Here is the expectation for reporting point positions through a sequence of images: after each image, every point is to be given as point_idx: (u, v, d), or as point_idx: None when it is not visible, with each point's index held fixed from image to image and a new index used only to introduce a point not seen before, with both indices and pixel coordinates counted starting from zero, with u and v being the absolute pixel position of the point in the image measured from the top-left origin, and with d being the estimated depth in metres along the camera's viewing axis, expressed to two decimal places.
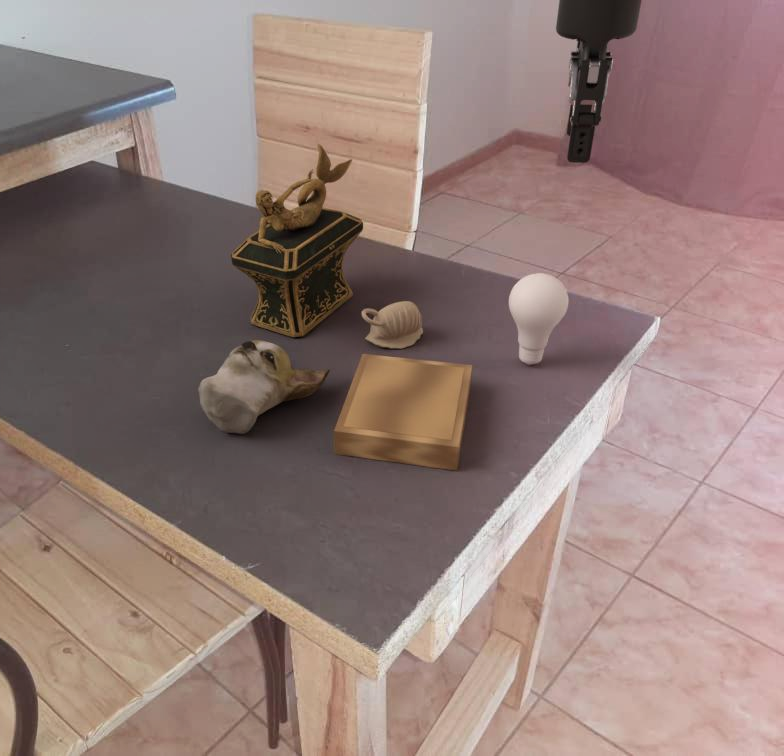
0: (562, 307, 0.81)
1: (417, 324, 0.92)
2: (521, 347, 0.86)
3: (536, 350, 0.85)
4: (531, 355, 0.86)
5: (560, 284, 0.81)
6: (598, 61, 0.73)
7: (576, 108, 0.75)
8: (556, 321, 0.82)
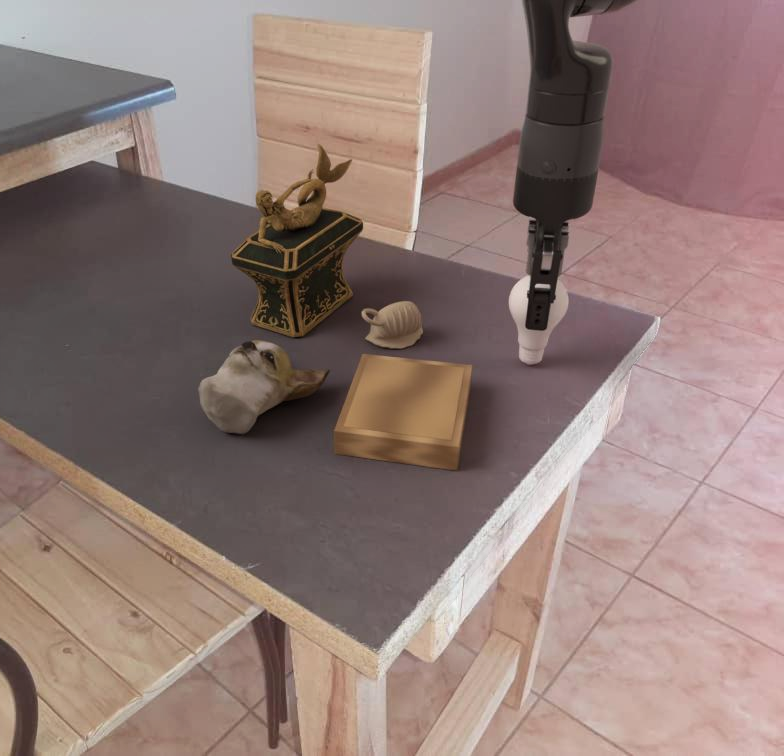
0: (562, 307, 0.81)
1: (417, 324, 0.92)
2: (521, 347, 0.86)
3: (536, 350, 0.85)
4: (531, 355, 0.86)
5: (560, 284, 0.81)
6: (551, 252, 0.73)
7: (531, 290, 0.76)
8: (556, 321, 0.82)
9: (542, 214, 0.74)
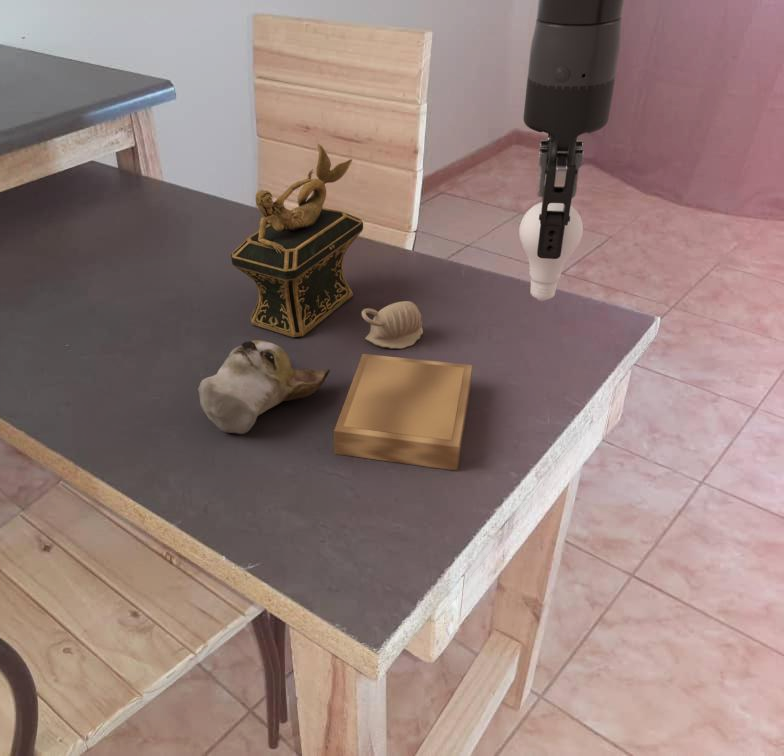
0: (576, 234, 0.76)
1: (417, 324, 0.92)
2: (533, 281, 0.82)
3: (549, 284, 0.81)
4: (543, 289, 0.81)
5: (574, 210, 0.77)
6: (565, 166, 0.69)
7: (543, 210, 0.71)
8: (570, 250, 0.77)
9: (555, 127, 0.70)
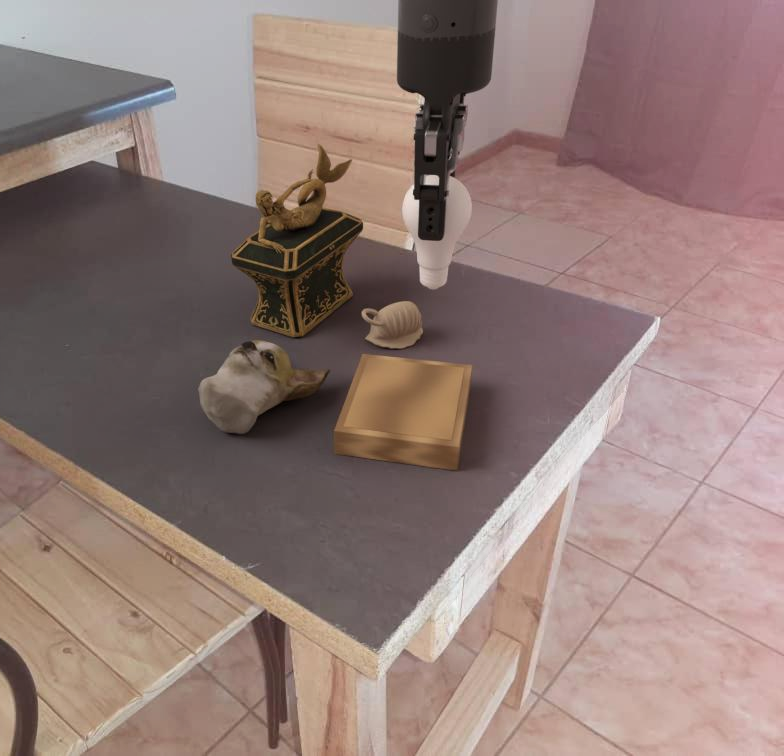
0: (461, 213, 0.67)
1: (417, 324, 0.92)
2: (420, 267, 0.72)
3: (437, 270, 0.71)
4: (432, 276, 0.72)
5: (460, 185, 0.67)
6: (435, 131, 0.59)
7: (416, 183, 0.62)
8: (457, 231, 0.68)
9: (426, 87, 0.60)
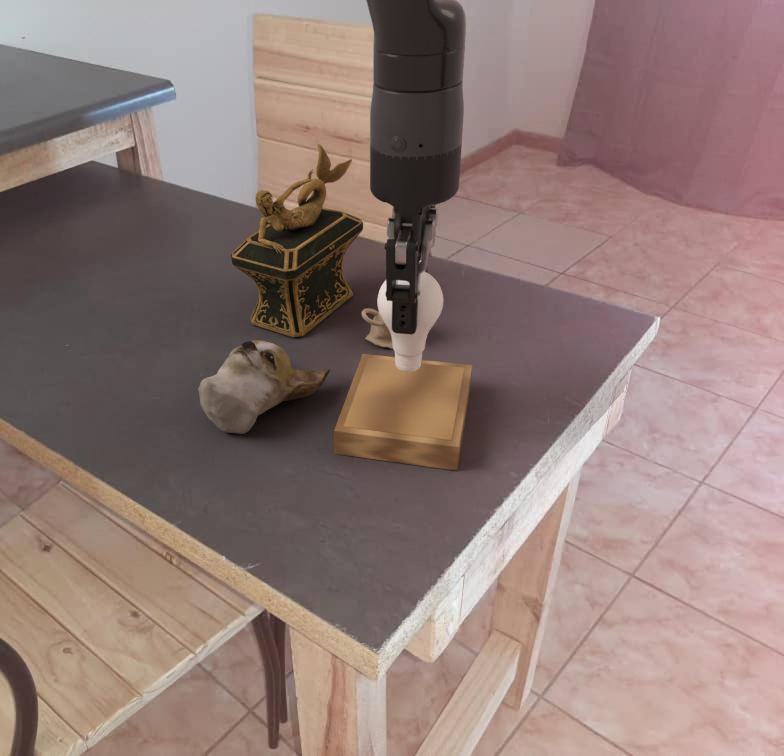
0: (433, 308, 0.70)
1: None
2: (395, 353, 0.76)
3: (411, 356, 0.75)
4: (406, 362, 0.75)
5: (432, 281, 0.71)
6: (405, 243, 0.63)
7: (388, 287, 0.66)
8: (428, 323, 0.71)
9: (397, 199, 0.64)
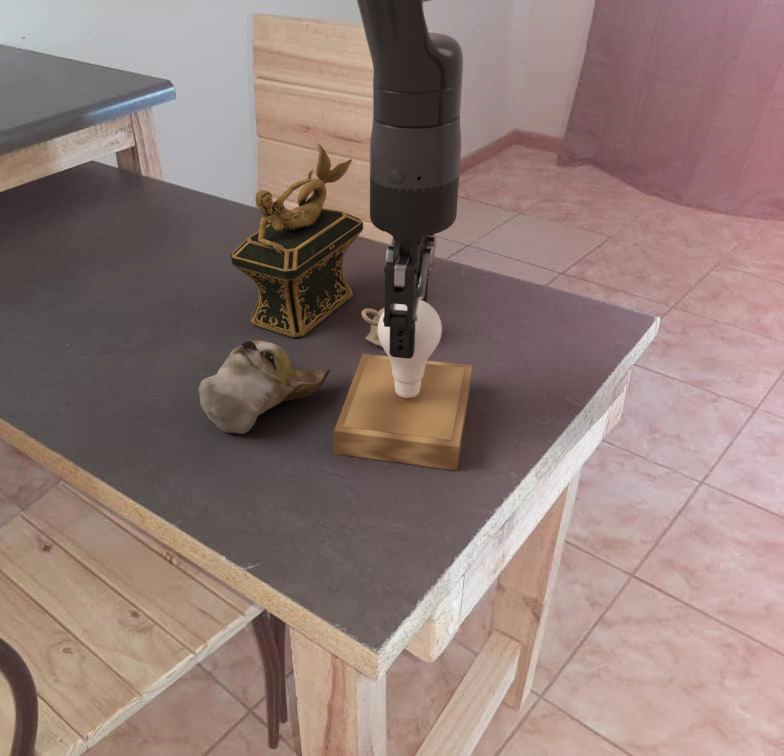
0: (431, 337, 0.72)
1: None
2: (395, 379, 0.77)
3: (410, 383, 0.77)
4: (406, 388, 0.77)
5: (430, 311, 0.73)
6: (404, 265, 0.64)
7: (386, 311, 0.66)
8: (427, 352, 0.73)
9: (396, 229, 0.65)
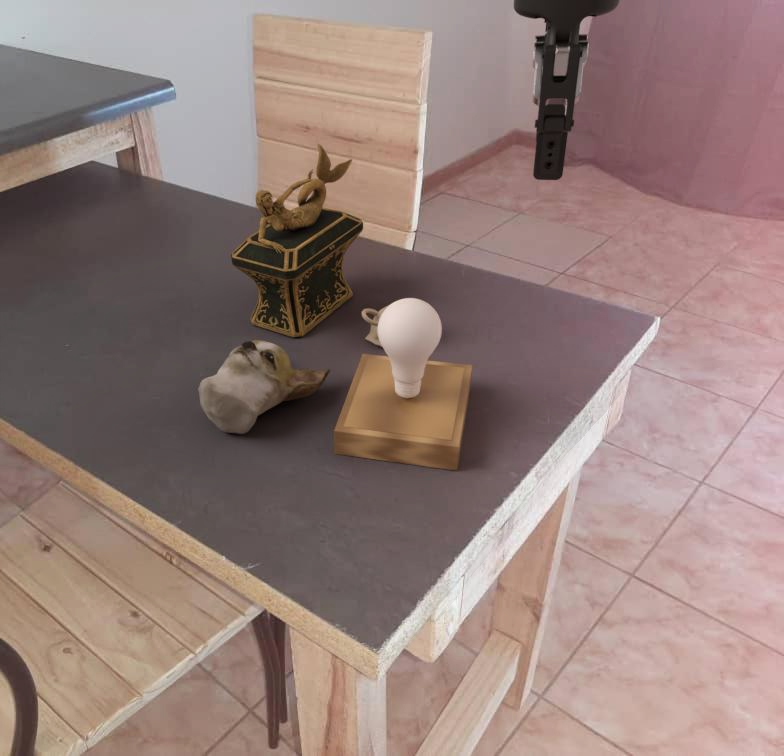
0: (431, 337, 0.72)
1: None
2: (395, 379, 0.77)
3: (410, 383, 0.77)
4: (406, 388, 0.77)
5: (430, 311, 0.73)
6: (567, 46, 0.54)
7: (540, 109, 0.56)
8: (427, 352, 0.73)
9: (553, 9, 0.56)
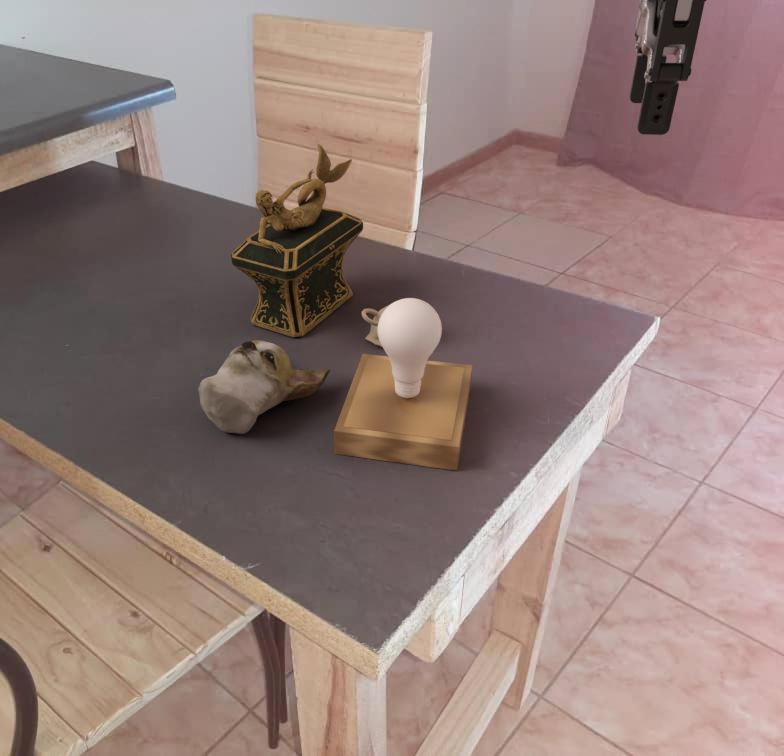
0: (431, 337, 0.72)
1: None
2: (395, 379, 0.77)
3: (410, 383, 0.77)
4: (406, 388, 0.77)
5: (430, 311, 0.73)
6: None
7: (657, 57, 0.54)
8: (427, 352, 0.73)
9: None
